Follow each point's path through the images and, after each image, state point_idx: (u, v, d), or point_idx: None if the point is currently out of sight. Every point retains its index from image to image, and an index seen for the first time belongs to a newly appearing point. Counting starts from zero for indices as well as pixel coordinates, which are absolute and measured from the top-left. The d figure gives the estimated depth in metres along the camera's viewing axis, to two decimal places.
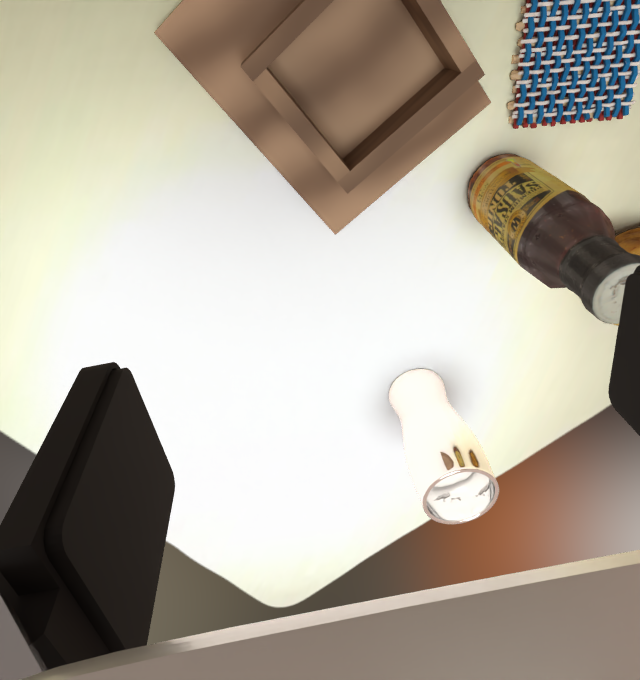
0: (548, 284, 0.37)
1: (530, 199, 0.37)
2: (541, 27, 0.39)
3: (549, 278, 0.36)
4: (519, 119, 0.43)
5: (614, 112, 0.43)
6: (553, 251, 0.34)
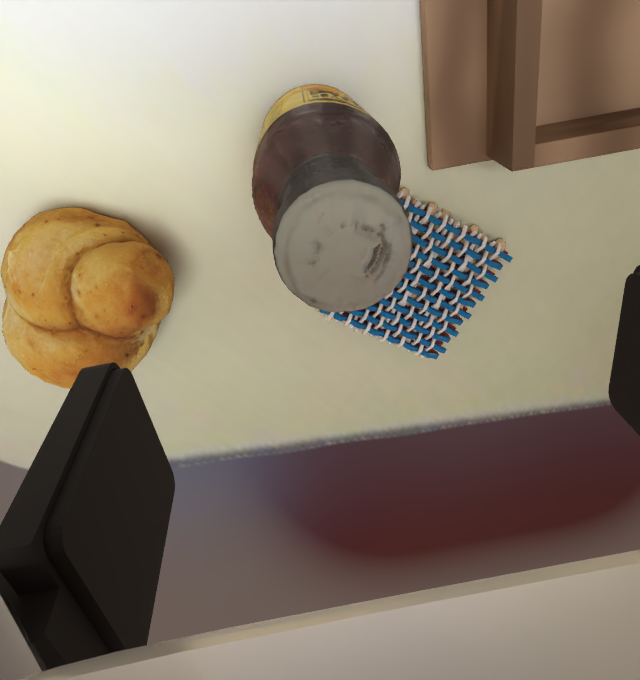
0: (288, 132, 0.19)
1: None
2: (466, 250, 0.35)
3: (310, 137, 0.19)
4: None
5: None
6: (375, 160, 0.19)
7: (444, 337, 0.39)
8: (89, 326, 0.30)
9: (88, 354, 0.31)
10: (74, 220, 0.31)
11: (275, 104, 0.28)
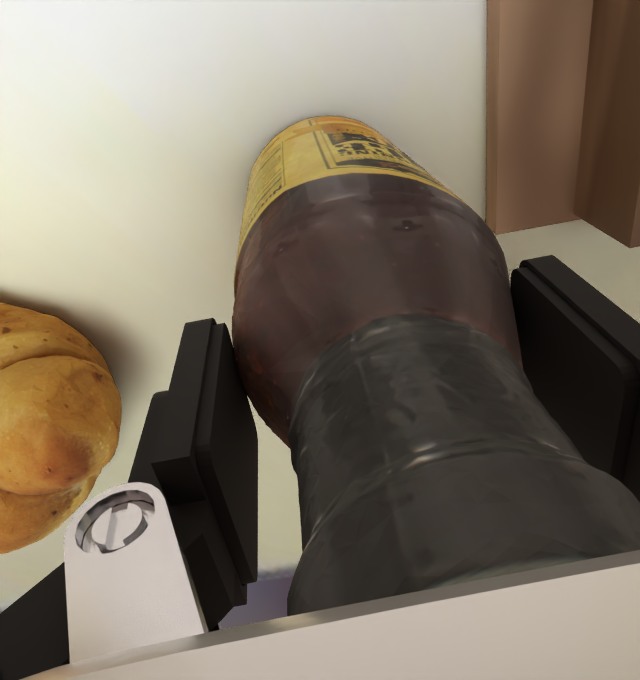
0: (307, 250, 0.09)
1: None
2: None
3: (354, 264, 0.09)
4: None
5: None
6: (497, 313, 0.09)
7: None
8: None
9: None
10: None
11: (268, 148, 0.18)
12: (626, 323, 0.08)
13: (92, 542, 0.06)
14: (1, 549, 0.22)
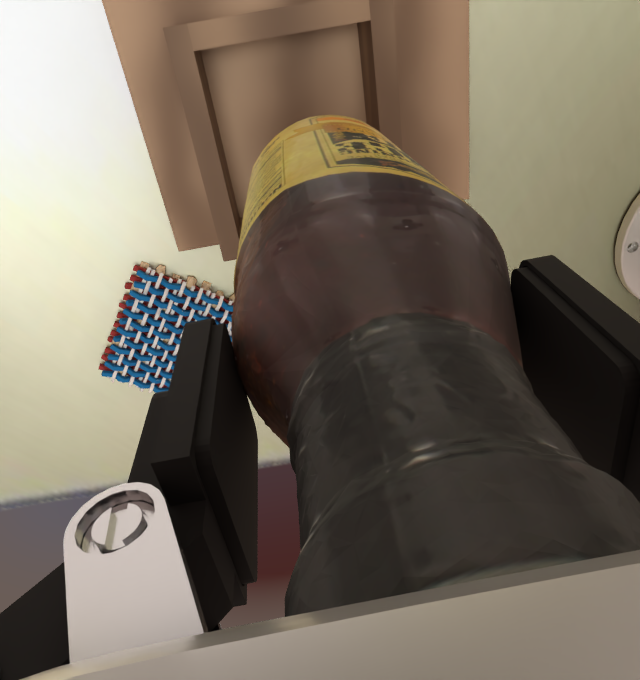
0: (307, 249, 0.09)
1: None
2: (226, 317, 0.39)
3: (353, 263, 0.09)
4: (143, 275, 0.36)
5: (109, 363, 0.40)
6: (497, 312, 0.09)
7: None
8: None
9: None
10: None
11: (269, 147, 0.18)
12: (626, 323, 0.08)
13: (92, 542, 0.06)
14: None
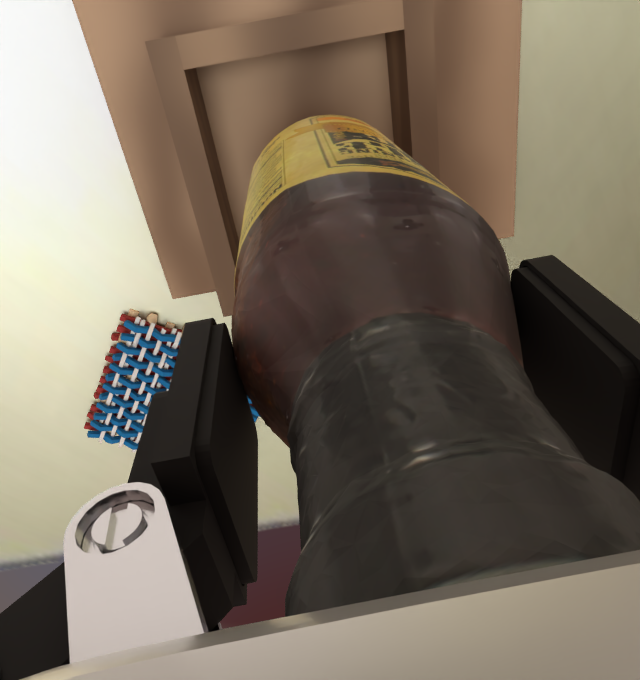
0: (307, 249, 0.09)
1: None
2: None
3: (354, 263, 0.09)
4: (131, 326, 0.31)
5: (96, 423, 0.35)
6: (498, 312, 0.09)
7: None
8: None
9: None
10: None
11: (269, 147, 0.18)
12: (626, 323, 0.08)
13: (92, 542, 0.06)
14: None
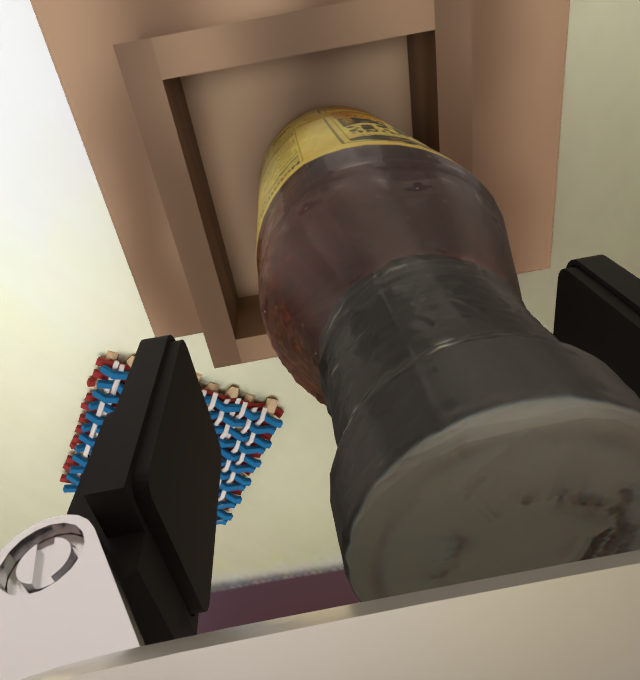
0: (330, 208, 0.10)
1: None
2: (222, 419, 0.29)
3: (372, 218, 0.10)
4: (108, 372, 0.27)
5: (72, 477, 0.31)
6: (499, 259, 0.10)
7: (227, 504, 0.33)
8: None
9: None
10: None
11: (280, 136, 0.20)
12: None
13: (17, 580, 0.06)
14: None
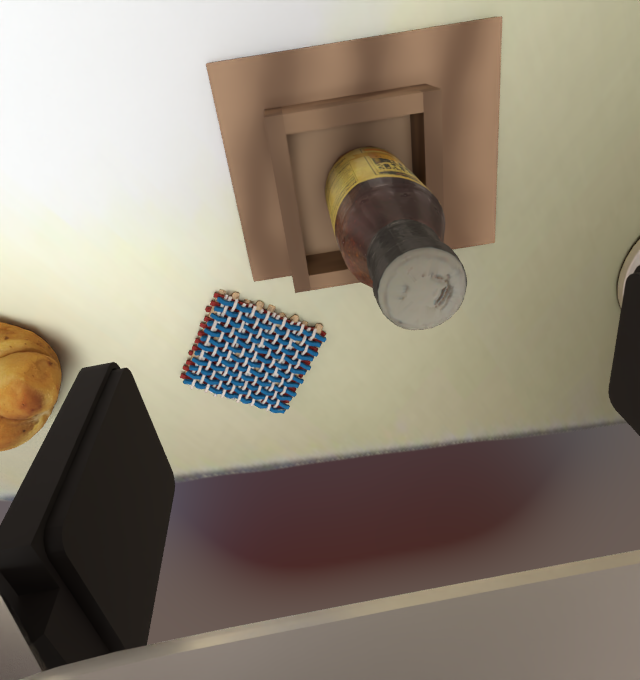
0: (372, 202, 0.27)
1: None
2: (288, 335, 0.46)
3: (387, 206, 0.27)
4: (222, 301, 0.44)
5: (190, 373, 0.48)
6: (433, 222, 0.27)
7: (286, 397, 0.50)
8: None
9: None
10: None
11: (339, 163, 0.37)
12: None
13: None
14: None
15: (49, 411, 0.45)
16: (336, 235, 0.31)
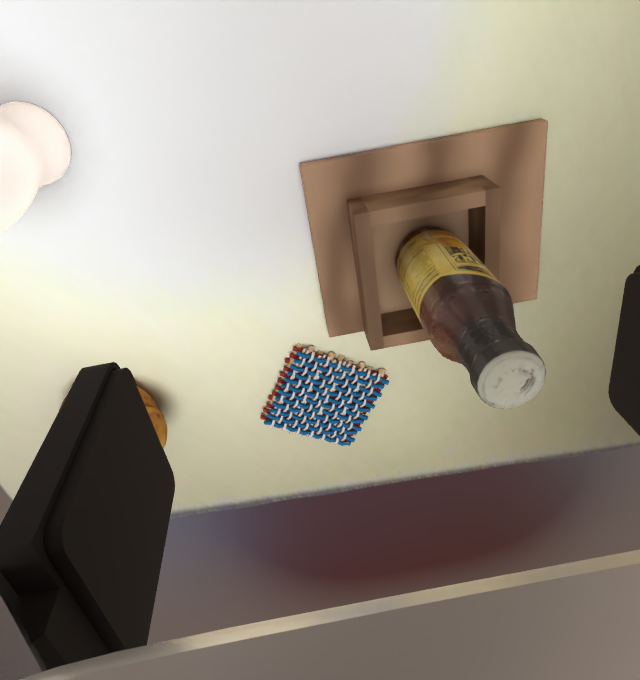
0: (459, 299, 0.34)
1: None
2: (357, 380, 0.53)
3: (472, 303, 0.34)
4: (301, 354, 0.51)
5: (270, 415, 0.55)
6: (509, 315, 0.34)
7: (352, 431, 0.57)
8: None
9: None
10: None
11: (412, 245, 0.44)
12: None
13: None
14: None
15: None
16: (420, 316, 0.38)
